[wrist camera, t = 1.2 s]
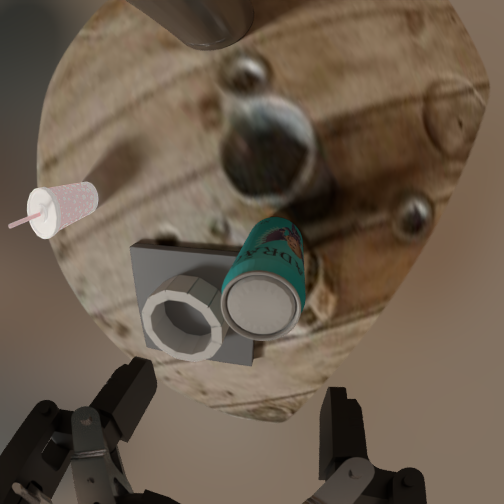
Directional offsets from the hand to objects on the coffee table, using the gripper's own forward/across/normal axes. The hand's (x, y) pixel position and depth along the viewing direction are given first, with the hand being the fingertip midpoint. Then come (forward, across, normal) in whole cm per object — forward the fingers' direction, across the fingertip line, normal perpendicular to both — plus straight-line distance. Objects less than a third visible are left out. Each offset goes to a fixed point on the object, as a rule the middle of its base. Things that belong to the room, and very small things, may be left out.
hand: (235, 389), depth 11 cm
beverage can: (+22, 0, 0) cm, 22 cm away
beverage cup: (+22, +26, -4) cm, 34 cm away
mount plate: (+22, +10, +10) cm, 26 cm away
